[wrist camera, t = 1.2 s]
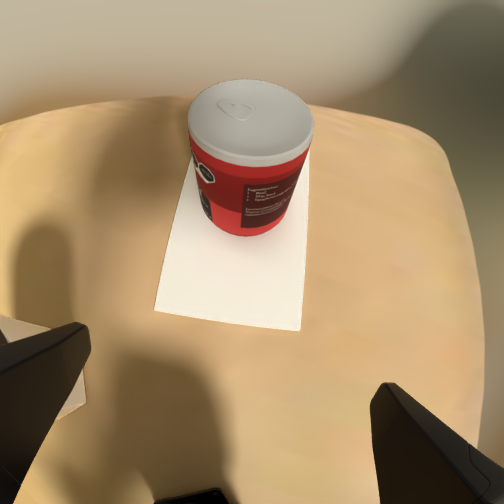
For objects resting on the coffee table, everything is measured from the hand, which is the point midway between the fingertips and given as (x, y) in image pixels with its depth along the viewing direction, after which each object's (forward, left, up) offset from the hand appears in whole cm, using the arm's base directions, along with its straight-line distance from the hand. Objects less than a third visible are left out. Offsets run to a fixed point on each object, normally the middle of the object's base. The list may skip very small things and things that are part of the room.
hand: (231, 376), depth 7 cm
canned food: (+6, +13, -15) cm, 21 cm away
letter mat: (+6, +13, -15) cm, 21 cm away
